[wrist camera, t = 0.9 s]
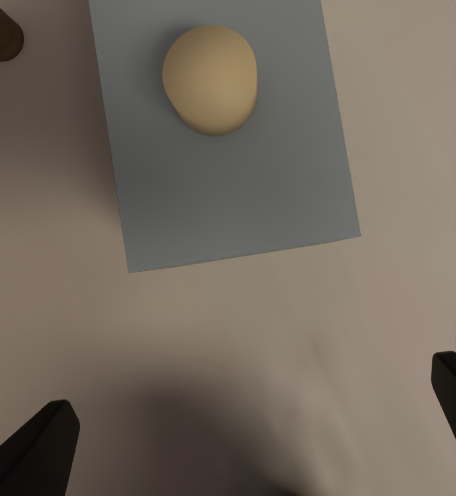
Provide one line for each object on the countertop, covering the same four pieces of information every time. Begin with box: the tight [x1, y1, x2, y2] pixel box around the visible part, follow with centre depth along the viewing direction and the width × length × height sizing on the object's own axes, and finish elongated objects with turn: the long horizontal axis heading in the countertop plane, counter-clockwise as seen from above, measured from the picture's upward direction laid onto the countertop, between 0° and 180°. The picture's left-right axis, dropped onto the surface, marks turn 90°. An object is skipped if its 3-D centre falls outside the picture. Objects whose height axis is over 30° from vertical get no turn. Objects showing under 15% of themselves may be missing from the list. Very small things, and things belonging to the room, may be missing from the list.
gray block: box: [88, 0, 361, 273], centre depth 19 cm, size 14×10×11 cm
